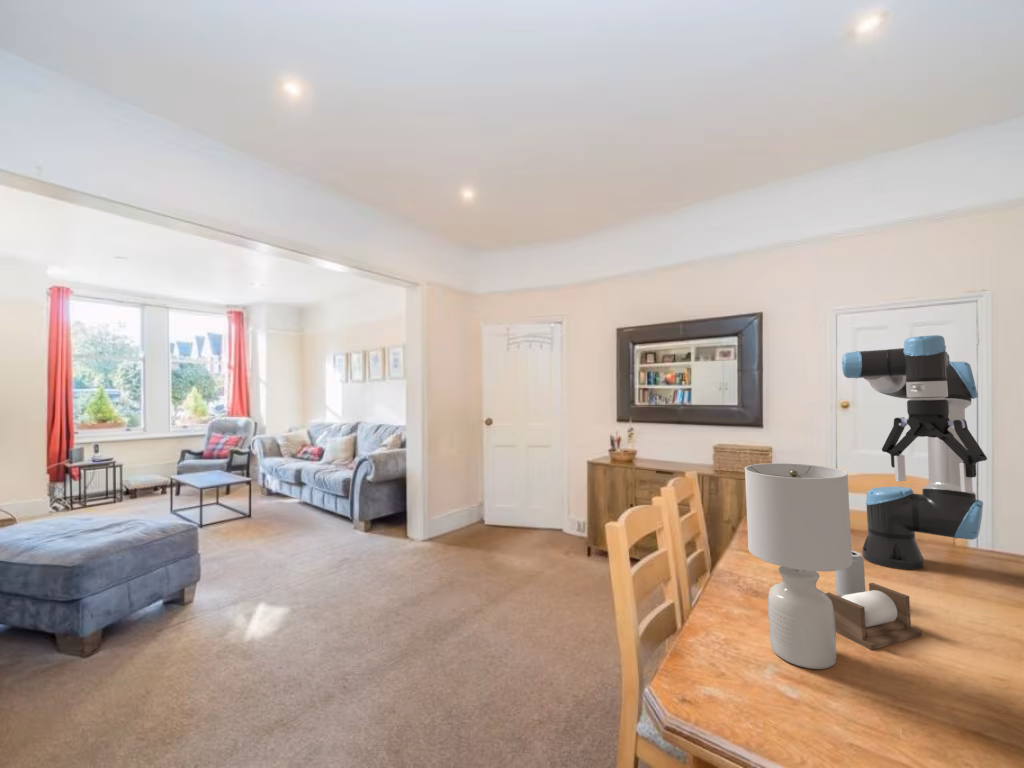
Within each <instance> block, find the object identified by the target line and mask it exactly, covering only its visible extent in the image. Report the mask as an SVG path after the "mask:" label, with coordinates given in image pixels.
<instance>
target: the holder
mask: <svg viewBox="0 0 1024 768" xmlns="http://www.w3.org/2000/svg"><path fill="white" fill-rule="evenodd" d="M872 590H877V591H881V592H883V593H885V594H886V595H887V596H889V597H890V598H891V599H892V601H893V602H894V604H895V606H896V608H897V618H896V619H895V621H893V622H890V623H886V624H881V625H876V626H871V627H867V628H865V609H864V607H863V606H861V605H858V604H856V603H853V602H851V601H849V600H846V599H844V598H842V597H840V596H839V595H838V594H837V595H836V594H834V593H831V592H829V591H828V592H825V594H827V595H828V597H829V598H830V599H831V601H832V604H833V608H834V615H835V626H836V634H839V635H841V636H843V637H845V638H847V639H849V640H850V641H853V642H855V643H857V644H859V645H861V646H863V647H865V648H867V649H868V650H876V649H880V648H883V647H887V646H889V645H894V644H896V643H900V642H903V641H904V642H905V641H907V640H910V639H915V638H917V637H922V636H923V633H922V630H920V629H918V628H915V627H913V626H912V624H911V623H912V621H911V604H910V603H911V601H910V595H908V594H905V593H901V592H899V591H896V590H894V589H891V588H888V587H885V586H883V585H880V584H877V583H875V582H870V583H868V591H872Z"/></svg>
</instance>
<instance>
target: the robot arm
mask: <svg viewBox="0 0 1024 768" xmlns="http://www.w3.org/2000/svg"><path fill="white" fill-rule="evenodd" d="M903 341H904V342H903V347H901V348H899V347H898V348H889V349H877V350H874V349H873V350H862V351H859V350H857V351H850V352H846V353H844V354H843V355H842V358H841V371H842V373H843V376H844V377H845V378H847V379H864V380H866V381H867V382H868V383H869V385H870V386H871V387H872V389H873V390H875V391H876V392H878V393H880V394H883V395H886V396H889V397H893V398H897V399H898V398H899V399H906V400H907V399H908V400H907V401H906V408H907V409H906V410H907V414H908V417H907V418H905V417H903V416H902V417H895V418H894V419H893V426H892V428H891V430H890V431H889V434H888V436H887V438H886V440H885V442H884V443H883V446H882V447H881V451H882V452H883V453H887V454H889V455H890V463H891V468H894V481H895V482H898V483H899V482H905V481H906V480H907V478H906V461H905V460H906V459H905V455H903V452H904V451H905V450H906V449H907V448H908V447H909V446H910V445H911V444H912V443H913V442H914V441H915V440H916V439H917V438H919V437H920V438H921V437H923V438H924V437H927V460H928V461H927V463H928V464H927V465H928V483H927V485H925V486H924V487H922V494H920V493H914V490H913V489H912V488H911V487H904V486H880V487H874V488H871V489H868V491H867V492H866V497H865V498H866V499H865V500H866V502H865V505H866V517H867V518H866V520H867V521H866V522H867V535H866V538H865V541H864V544H863V547H862V548H861V554H862V558H863V559H864V560H866V561H868V562H870V563H872V564H876V565H879V566H884V567H886V568H893V569H899V570H919V569H923V568H924V567H925V559H924V556H923V554H922V552H921V550H920V547H919V545H918V543H917V540H916V534H915V533H921V534H927V535H935V536H942V537H948V538H953V539H962V540H969V541H970V540H971V541H972V540H976V539H977V538H978V537H979V535H980V531H981V524H982V517H983V509H984V502H983V501H982V500H981V499H976V498H977V495H976V493H975V492H974V490H973V488H974V487H973V478H976V477H977V464H978V463H979V462H984V461H987V460H988V458H987V455H986V454H985V452H984V451H983V449H982V448H981V446H980V445H979V443H978V442H977V441H976V439H975V437H974V436H973V435H972V433H971V432H970V430H969V428H968V422H967V420H966V409H967V408H969V406H971V405H972V400H974V399H977V398H978V396H979V395H978V391H977V386H976V383H975V379H974V378H975V377H974V374H973V370H972V366H971V364H970V363H968V362H967V361H951V360H950V355H949V353H948V352H947V346H946V340H945V338H944V336H943V335H938V334H936V335H933V334H932V335H920V336H911V337H908V338H906V339H904V340H903ZM907 425H908V427H909V428H910V429H909V430H908V431H907V432H906V433H905V435H904V436H903V437H902V438H901V436H902V434H903V432H904V430H905V427H906V426H907ZM900 438H901V439H900Z"/></svg>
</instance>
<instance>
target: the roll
mask: <svg viewBox="0 0 1024 768" xmlns="http://www.w3.org/2000/svg"><path fill="white" fill-rule="evenodd" d="M842 598H844V599H846V600H849V601H851V602H853V603H856V604H858V605H861V606H863V607H864V609H865V628H867V627H871V626H876V625H881V624H886V623H890V622H893V621H895V619H896V618H897V608H896V606H895V604H894V602H893V601H892V599H891V598H890V597H889V596H887V595H886V594H885V593H883V592H881V591H877V590H872V591H869V590H867V591H866V590H865V592H860V593H854V594H848V595H843V596H842Z"/></svg>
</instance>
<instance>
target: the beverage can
mask: <svg viewBox="0 0 1024 768" xmlns="http://www.w3.org/2000/svg"><path fill="white" fill-rule="evenodd" d="M851 551H852V565H851V566H850V567H848V568H846V569H843V570H838V571H834V577H835V592H836V594H837V596H839V597H842V596H843V595H848V594H854V593H860V592H866V579H865V577H866V576H865V558H863V555H862V552H861V553H860V552H858V551H855V550H852V549H851Z"/></svg>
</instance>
